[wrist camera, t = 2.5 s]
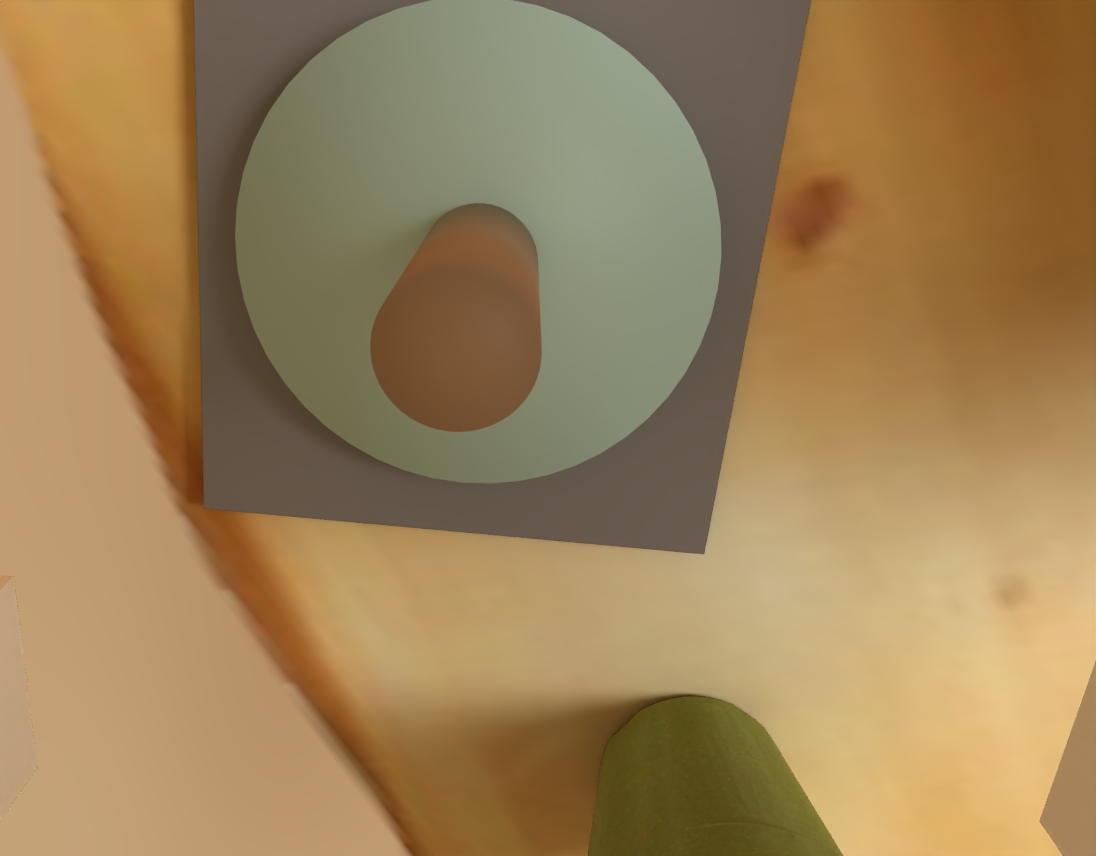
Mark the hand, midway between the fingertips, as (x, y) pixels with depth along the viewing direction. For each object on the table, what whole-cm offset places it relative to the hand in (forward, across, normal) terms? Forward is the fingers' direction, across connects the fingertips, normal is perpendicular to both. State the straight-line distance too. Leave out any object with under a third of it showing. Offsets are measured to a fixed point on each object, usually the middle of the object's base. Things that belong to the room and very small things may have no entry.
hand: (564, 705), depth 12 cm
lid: (+21, -2, +2) cm, 21 cm away
